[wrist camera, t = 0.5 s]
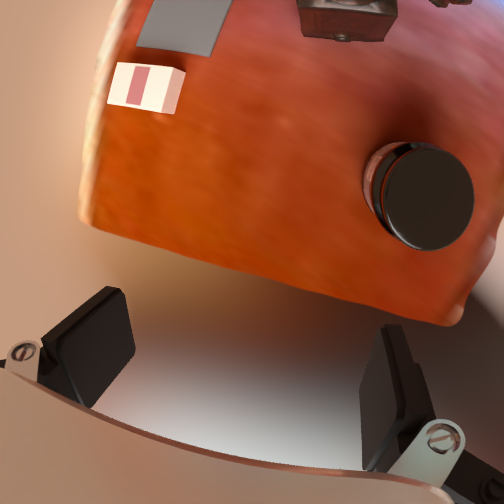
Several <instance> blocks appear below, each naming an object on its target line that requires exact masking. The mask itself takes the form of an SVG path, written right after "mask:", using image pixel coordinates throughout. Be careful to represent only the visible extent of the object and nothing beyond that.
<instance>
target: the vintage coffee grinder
mask: <svg viewBox="0 0 504 504" xmlns="http://www.w3.org/2000/svg"><path fill="white" fill-rule="evenodd" d="M429 1H430V2H431V3H433V4H434V5H435V6H437V7H442V8H446V7H447V6H448V4H449V3H451V4H457V5H468V4H471V3H472V0H429ZM296 2H297V6H298V10H299V15H300V21H301V31H302V33H303V36H304V37H315V38H325V39H333V40H336V41H339V42H350V41H365V42H379V41H384V37H385V36H386V34H387V32H388V31H389V29H390V28H391V26H392V24H393V23H394V21H395V20H396V18H397V16H398V8H397V0H296Z"/></svg>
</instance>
